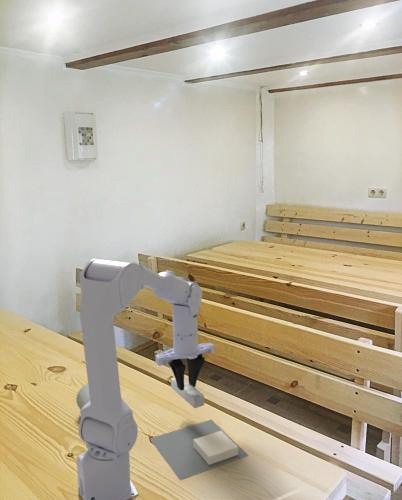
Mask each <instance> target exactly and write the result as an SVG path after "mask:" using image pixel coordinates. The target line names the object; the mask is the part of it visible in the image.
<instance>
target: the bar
mask: <svg viewBox="0 0 402 500" xmlns="http://www.w3.org/2000/svg"><path fill="white" fill-rule="evenodd" d="M170 388H171V389H172V390H173V391H174V392H175V393H177V395H179V396H180V397H181V398H182V399H183V400H185V402H186V403H188V404H189V406H191V407H193V409H196V408H197V409H198V408H199V407H203V406H205V396H204V393H202V392H201V391H200V390H198V389H197V388H196V387H193V386H192V385H191V384H189V381H187V380H186V379H184V390H180V389H179V388H178V387H177V383H176V379H175V376H174V377H171V378H170Z"/></svg>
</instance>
